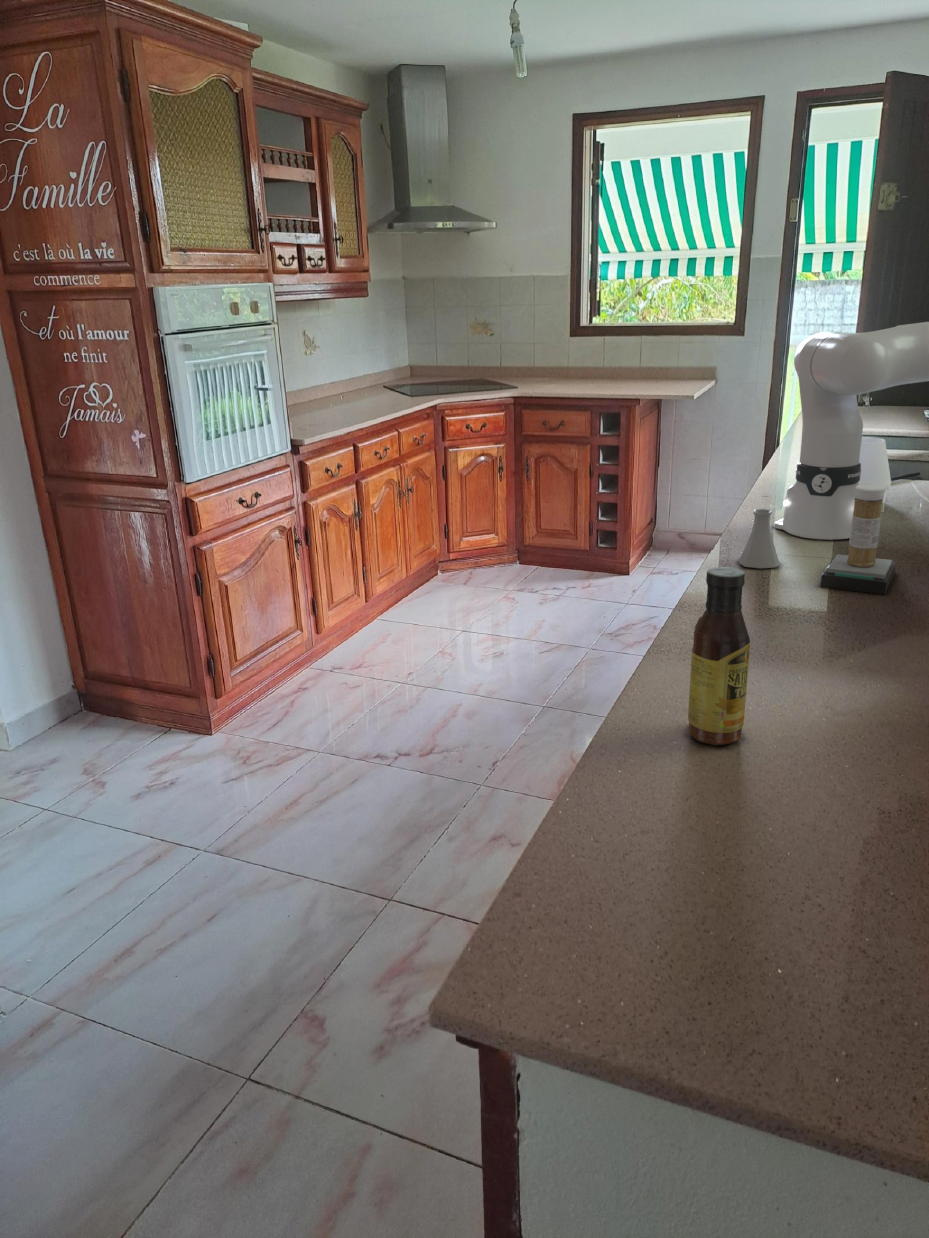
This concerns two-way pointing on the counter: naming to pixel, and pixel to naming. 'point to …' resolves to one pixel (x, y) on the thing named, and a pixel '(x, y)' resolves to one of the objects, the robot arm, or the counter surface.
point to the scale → (858, 575)
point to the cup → (874, 463)
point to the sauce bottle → (719, 662)
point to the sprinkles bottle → (865, 525)
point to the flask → (760, 543)
